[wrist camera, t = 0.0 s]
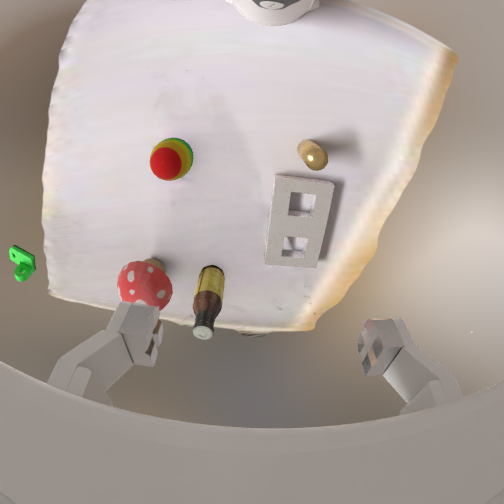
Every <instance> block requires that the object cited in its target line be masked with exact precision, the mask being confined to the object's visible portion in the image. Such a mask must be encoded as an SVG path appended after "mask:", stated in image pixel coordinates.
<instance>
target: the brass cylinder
mask: <svg viewBox="0 0 504 504" xmlns="http://www.w3.org/2000/svg"><path fill="white" fill-rule="evenodd" d="M298 153H299V155H300V156H301V158H302V159H303V161H304V162H305V163H306V165H307V166H308V167H309V168H310V169H312V170H316V171H317V170H321V169H323V168H324V167H325V166H326V165H327V163H328V155H327V153H326V152H325V151H324V150H323V149H322V148H320V147H319V146H318V145H317V144H315V143H314V142H313V141H311V140H304V141H302V142H301V143H300V144H299V145H298Z"/></svg>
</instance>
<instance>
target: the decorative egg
mask: <svg viewBox="0 0 504 504" xmlns="http://www.w3.org/2000/svg"><path fill="white" fill-rule="evenodd" d="M192 163H193V151H192V149H191V147H190V146H189V144H188V143H187V142H185V141H184V140H182V139H179V138H168V139H165V140H163V141H161V142H160V143H159V144H157V145H156V147H155V148H154V149H153V151H152V153H151V156H150V167H151V170H152V171H153V173H154V174H155V175H156V176H157V177H158V178H160V179H163V180H167V181H172V180H176V179H179V178H181V177H183V176H184V175H185V174H186V173H187V172H188V171H189V170H190V168H191V166H192Z"/></svg>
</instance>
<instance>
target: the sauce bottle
mask: <svg viewBox="0 0 504 504" xmlns="http://www.w3.org/2000/svg"><path fill="white" fill-rule="evenodd" d="M224 281H225V277H224V273H223V271H222V269H220V268H219V267H217V266H215V265H209V266H206V267H204V268H203V269H202V271H201V273H200V275H199V279H198V283H197V288H196V292H195V296H194V303H193V310H194V314H195V316H196V321H195V325H194V327H193V334H194V335H195V336H196V337H197V338H199V339H210V338H211V337H212V336H213V332H214V328H213V325H214V321H215V319H216V317H217V316H218V314H219V313H220V311H221V308H222V299H223V290H224Z"/></svg>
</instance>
